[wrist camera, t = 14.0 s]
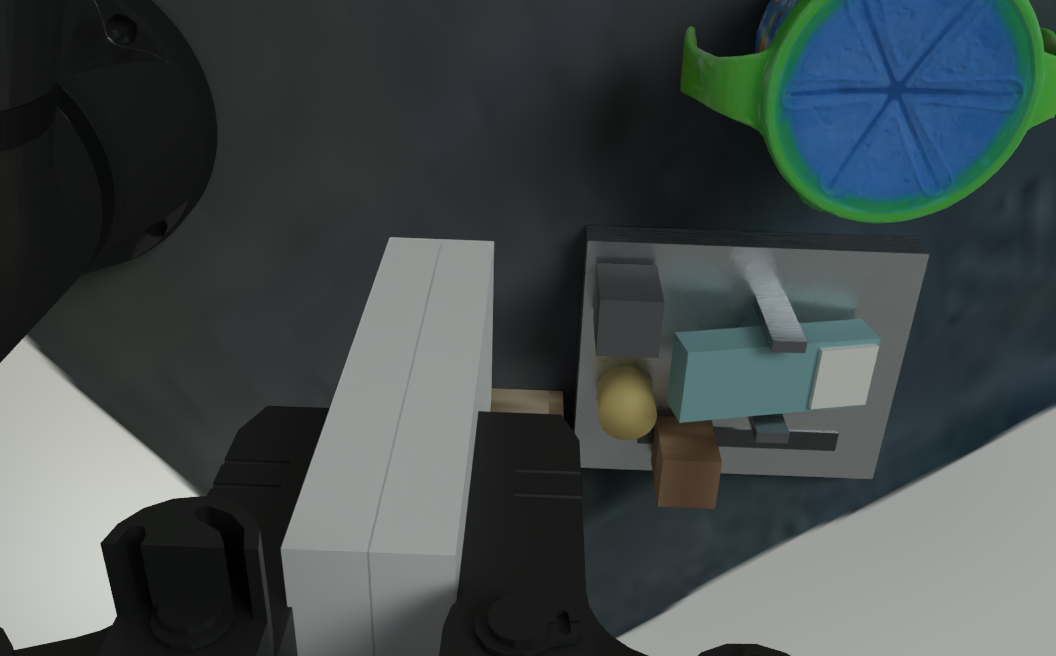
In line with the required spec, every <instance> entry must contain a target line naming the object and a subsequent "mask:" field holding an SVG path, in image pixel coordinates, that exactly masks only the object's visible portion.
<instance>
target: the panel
mask: <svg viewBox="0 0 1056 656" xmlns="http://www.w3.org/2000/svg"><path fill="white" fill-rule="evenodd" d="M928 258H929V253H928V252H927V251H926V249H925V248H924V247H923V245H922V244H921V243H920V242H919V240H918V239H917V238H909V237H883V236H857V235H831V234H805V233H779V232H753V231H728V230H702V229H676V228H650V227H624V226H598V225H586V240H585V255H584V270H583V285H582V300H581V315H580V330H579V345H578V360H577V375H576V390H575V405H574V420H573V432H574V433H575V435H576V436H577V437H578V439H579V440H580V462H581V468H603V469H629V470H652V466H651V453H652V445H653V436H654V427H655V425H654V427H653V428H652V429H651V430H650V432H648V433H647V434H646V435H644V436H642V437H640V438H637V439H634V440H620V439H616V438H614V437H611V436H610V435H608V434H607V433H606V432H605V431H604V430H603V429H602V427H601V425H600V423H599V417H598V403H597V385H598V382H599V380H600V379H601V377H602V376H603V375H604V374H605V373H606V372H608V371H609V370H611V369H613V368H616V367H621V366H630V367H635V368H638V369H640V370H641V371H643V372H644V373H646V374H647V376H648V377H649V378H650V380H651V382H652V386H653V392H654V399H655V405H656V411H657V416H675V414H674V413H673V411H672V409H671V408H670V406H669V404H668V402H667V392H668V384H669V376H670V367H671V359H672V351H673V342H674V334H675V332H688V331H701V330H715V329H728V328H742V327H756V326H762V329H763V331H764V334H765V337H766V339H767V342H768V345H769V347H770V350H771V352H782V353H806V348H807V340H806V338H805V336H804V333H803V331H802V329H801V327H800V325H799V323H810V322H824V321H838V320H851V319H862V320H863V321H864V322H865V323H866V324H867V325H868V326H869V327H870V328H871V329H872V330H873V331H874V332H875V333H876V334H877V335H878V336H879V337H880V338H881V340H880V344H879V349H878V353H877V358H876V362H875V366H874V370H873V374H872V379H871V383H870V387H869V391H868V395H867V400H866V404H865V406H857V407H847V408H836V409H825V410H814V411H803V412H792V413H781V414H770V415H759V416H748V417H737V418H726V419H715V420H712V424H713V428H714V432H715V436H716V440H717V444H718V448H719V452H720V456H721V460H722V466H721V473H731V474H757V475H782V476H808V477H833V478H859V479H873V475H874V471H875V467H876V463H877V459H878V455H879V451H880V447H881V443H882V439H883V436H884V432H885V428H886V424H887V420H888V416H889V412H890V408H891V404H892V400H893V396H894V392H895V388H896V384H897V380H898V376H899V372H900V368H901V364H902V360H903V356H904V352H905V348H906V345H907V341H908V337H909V333H910V329H911V325H912V321H913V317H914V313H915V309H916V305H917V301H918V297H919V293H920V289H921V285H922V281H923V277H924V273H925V269H926V265H927V261H928ZM597 263H610V264H636V265H657V268H658V273H659V278H660V282H661V287H662V292H663V296H664V301H665V305H664V314H663V323H662V332H661V341H660V350H659V358H645V357H620V356H596V350H595V337H594V324H593V307H594V293H595V280H596V266H597Z"/></svg>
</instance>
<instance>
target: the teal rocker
mask: <svg viewBox="0 0 1056 656" xmlns="http://www.w3.org/2000/svg"><path fill="white" fill-rule="evenodd" d="M799 325H800V327H801V329H802V331H803V333H804V336H805V338H806V340H807V348H806V353H782V352H771V350H770V347H769V345H768V342H767V339H766V337H765V334H764V331H763V329H762V326H756V327H742V328H728V329H715V330H701V331H688V332H675V334H674V342H673V351H672V359H671V367H670V376H669V384H668V392H667V402H668V404H669V406H670V408H671V409H672V411H673V413H674V414H675V416H676V418H677V420H678V421H679V423H683V422H694V421H705V420H715V419H726V418H737V417H748V416H759V415H770V414H781V413H792V412H803V411H814V410H825V409H836V408H847V407H857V406H865V404H866V400H867V395H868V391H869V387H870V383H871V379H872V374H873V370H874V366H875V362H876V358H877V353H878V349H879V344H880V340H881V338H880V337H879V336H878V335H877V334H876V333H875V332H874V331H873V330H872V329H871V328H870V327H869V326H868V325H867V324H866V323H865V322H864V321H863V320H862V319H851V320H838V321H824V322H810V323H799Z"/></svg>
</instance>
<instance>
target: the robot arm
mask: <svg viewBox="0 0 1056 656" xmlns="http://www.w3.org/2000/svg"><path fill="white" fill-rule="evenodd" d="M216 148H217V123H216V114H215V108H214V103H213V99H212V95H211V92H210V88H209V85H208V82H207V80H206V77H205V75H204V72H203V70H202V68H201V66H200V64H199V62H198V60H197V58H196V56H195V54H194V52H193V51H192V49H191V47H190V46H189V44H188V43H187V41H186V40H185V38H184V37H183V35H182V34H181V33H180V31H179V30H178V29H177V27H176V26H175V25H174V24H173V22H172V21H171V20H170V19H169V18H168V17H167V16H166V15H165V14H164V12H163V11H162V10H161V9H160V8H159V7H158V6H157V5H156V4H154V3H153V2H152V1H151V0H0V362H1V361H2V360H3V359H4V358H5V357H6V356H7V355H8V354H9V353H10V352H11V351H12V350H13V348H14V347H15V346H16V345H17V344H18V343H19V342H20V341H21V340H22V339H23V338H24V337H25V336H26V334H27V333H28V332H29V331H30V330H31V329H32V328H33V327H34V326H35V325H36V324H37V323H38V321H39V320H40V319H41V318H42V317H43V316H44V315H45V314H46V313H47V312H48V311H49V310H50V309H51V307H52V306H53V305H54V304H55V303H56V302H57V301H58V300H59V299H60V298H61V297H62V296H63V294H64V293H65V292H66V291H67V290H68V289H69V288H70V287H71V286H72V285H73V284H74V283H75V282H76V280H77V279H78V278H79V277H80V276H81V275H82V274H85V273H89V272H92V271H96V270H99V269H103V268H106V267H109V266H113V265H116V264H120V263H123V262H126V261H129V260H131V259H134V258H136V257H138V256H140V255H142V254H144V253H146V252H147V251H149V250H151V249H152V248H154V247H155V246H157V245H158V244H160V243H161V242H162V241H164V240H165V239H166V238H167V237H168V236H169V235H171V234H172V233H173V232H174V231H175V229H176V228H177V227H178V226H179V225H180V224H181V223H182V221H183V220H184V219H185V218H186V217H187V215H188V214H189V213H190V212H191V211H192V209H193V208H194V207H195V206H196V204H197V203H198V201H199V200H200V198H201V196H202V194H203V193H204V191H205V189H206V186H207V184H208V182H209V179H210V176H211V173H212V170H213V166H214V162H215V156H216ZM493 271H494V241H472V240H446V239H420V238H395V237H390V238H389V241H388V244H387V247H386V250H385V252H384V255H383V258H382V261H381V264H380V267H379V270H378V272H377V275H376V278H375V281H374V284H373V287H372V290H371V292H370V295H369V298H368V301H367V304H366V307H365V310H364V312H363V315H362V318H361V321H360V324H359V327H358V329H357V332H356V335H355V338H354V341H353V344H352V347H351V349H350V352H349V355H348V358H347V361H346V364H345V367H344V369H343V372H342V375H341V378H340V381H339V384H338V387H337V389H336V392H335V395H334V398H333V401H332V404H331V407H330V408H311V407H285V406H267V407H266V408H264V409H263V410H262V411H261V412H260V413H258V414H257V415H256V416H255V417H254V418H252V419H251V420H250V421H249V422H248V423H246V424H245V425H244V426H243V427H242V428H240V429H239V430H238V432H237V434H236V436H235V438H234V440H233V443H232V445H231V447H230V449H229V451H228V453H227V455H226V457H225V463H224V465H221V468H220V470H219V472H218V474H217V476H216V478H215V480H214V482H213V489H210V491H209V493H208V495H207V497H205V496H201V497H189V498H178V499H171V500H168V501H165V502H162V503H159V504H156V505H152V506H149V507H146V508H143V509H141V510H140V511H138V512H137V513H135V514H133V515H132V516H130V517H128V518H127V519H125V520H123V521H122V522H120V523H118V524H117V525H116V527H115V528H114V529H113V530H112V531H111V532H110V533H109V534H108V536H107V537H106V538H105V539H104V540H103V541H102V542H101V548H102V552H103V556H104V561H105V565H106V569H107V574H108V578H109V582H110V586H111V591H112V595H113V599H114V604H115V608H116V613H117V617H116V619H115V621H114V623H113V625H111V626H109V627H107V628H105V629H103V630H101V631H97V632H94V633H90V634H87V635H83V636H80V637H77V638H72V639H67V640H62V641H57V642H52V643H47V644H42V645H38V646H33V647H28V648H23V649H19V650H13V646H12V644H11V642H10V641H9V639H8V637H7V635H6V634H5V632H4V630H3V629H2V628H1V627H0V656H648V655H645V654H643V653H640V652H638V651H635V650H633V649H631V648H629V647H627V646H626V645H624V644H623V643H621V642H620V641H618V640H617V639H615V638H614V637H612V636H611V635H610V634H609V633H608V632H607V631H606V630H605V628H604V627H603V626H602V625H601V624H600V623H599V622H598V621H597V619H596V617H595V615H594V614H593V612H592V610H591V608H590V607H589V603H588V598H587V593H586V580H585V557H584V533H583V510H582V486H581V462H580V440H579V439H578V437H577V436H576V435H575V433H574V432H573V430H572V429H571V428H570V426H569V425H568V423H567V422H566V420H565V419H564V418H563V416H562V415H561V414H539V413H513V412H490V408H491V384H492V327H493ZM698 656H790V655H788V654H787V653H784V652H781V651H778V650H774V649H771V648H768V647H764V646H761V645H758V644H725V645H722V646H719V647H716V648H713V649H710V650H707V651H704V652H701V653H700V654H699V655H698Z"/></svg>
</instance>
